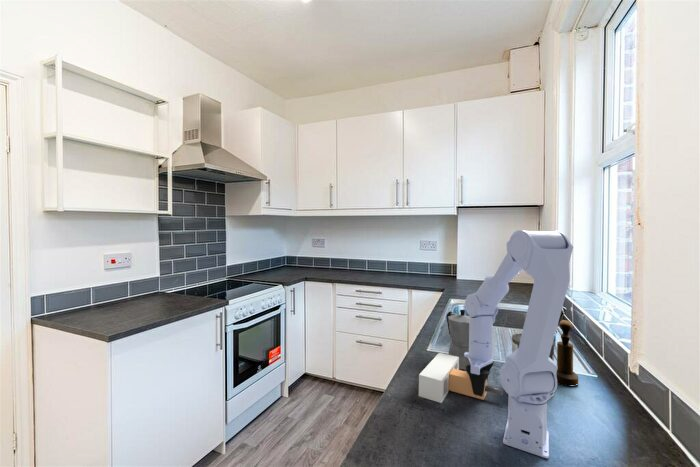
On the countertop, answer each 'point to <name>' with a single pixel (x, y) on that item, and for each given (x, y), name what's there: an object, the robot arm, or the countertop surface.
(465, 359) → the coffeepot
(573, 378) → the wooden pepper mill
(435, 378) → the white rectangular block
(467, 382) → the plug
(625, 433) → the countertop surface
